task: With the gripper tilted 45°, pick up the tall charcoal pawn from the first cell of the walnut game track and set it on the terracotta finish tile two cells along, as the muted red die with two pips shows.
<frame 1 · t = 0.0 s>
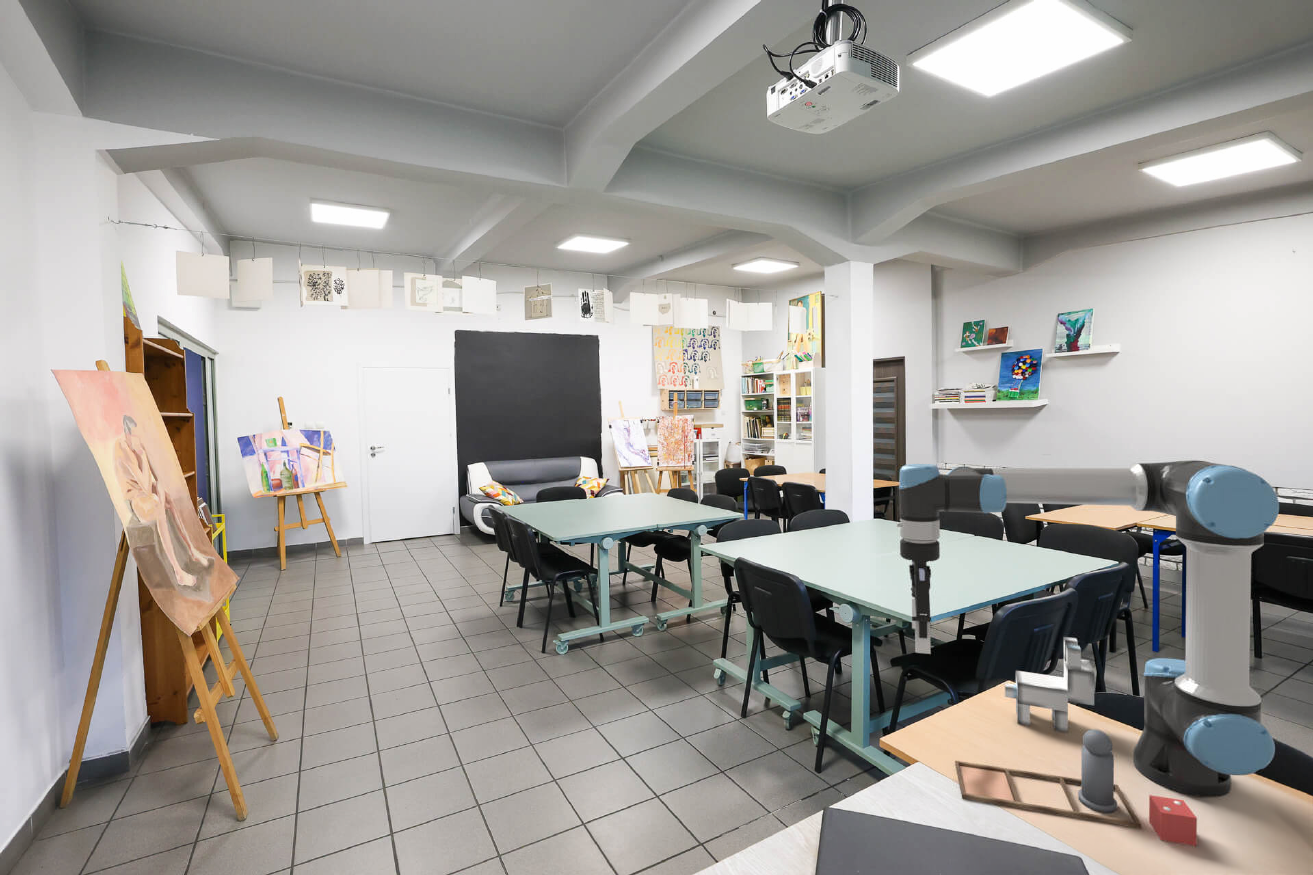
hand: (920, 640, 129), 28 cm above the table, tool pointing down, fingers open, 13 cm apart
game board: (1040, 793, 121), on the table
red die: (1172, 833, 109), on the table
pawn: (1097, 802, 118), resting in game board
toy llama: (1047, 722, 147), on the table
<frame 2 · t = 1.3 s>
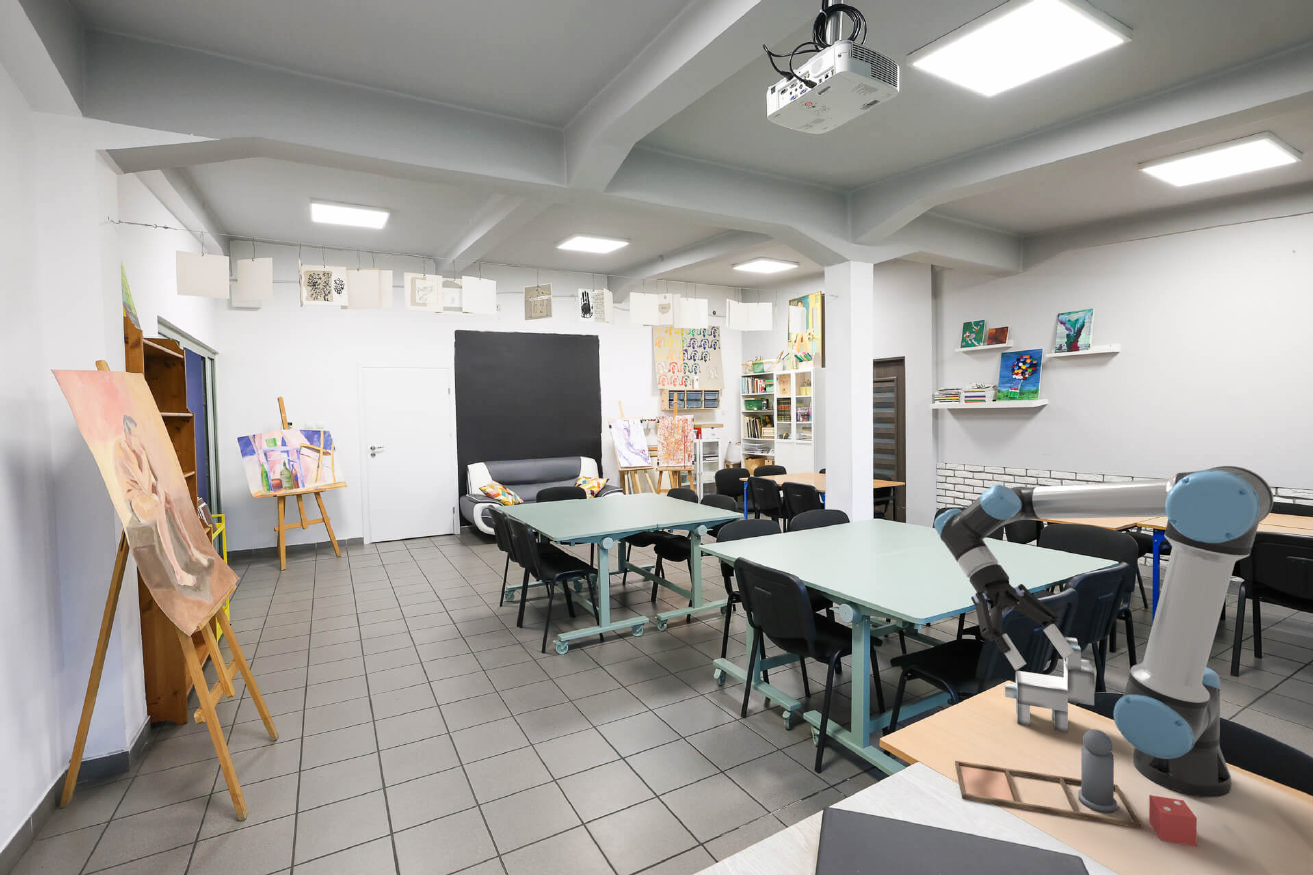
hand: (1045, 661, 127), 24 cm above the table, tool tilted 45°, fingers open, 13 cm apart
nothing on the table moved.
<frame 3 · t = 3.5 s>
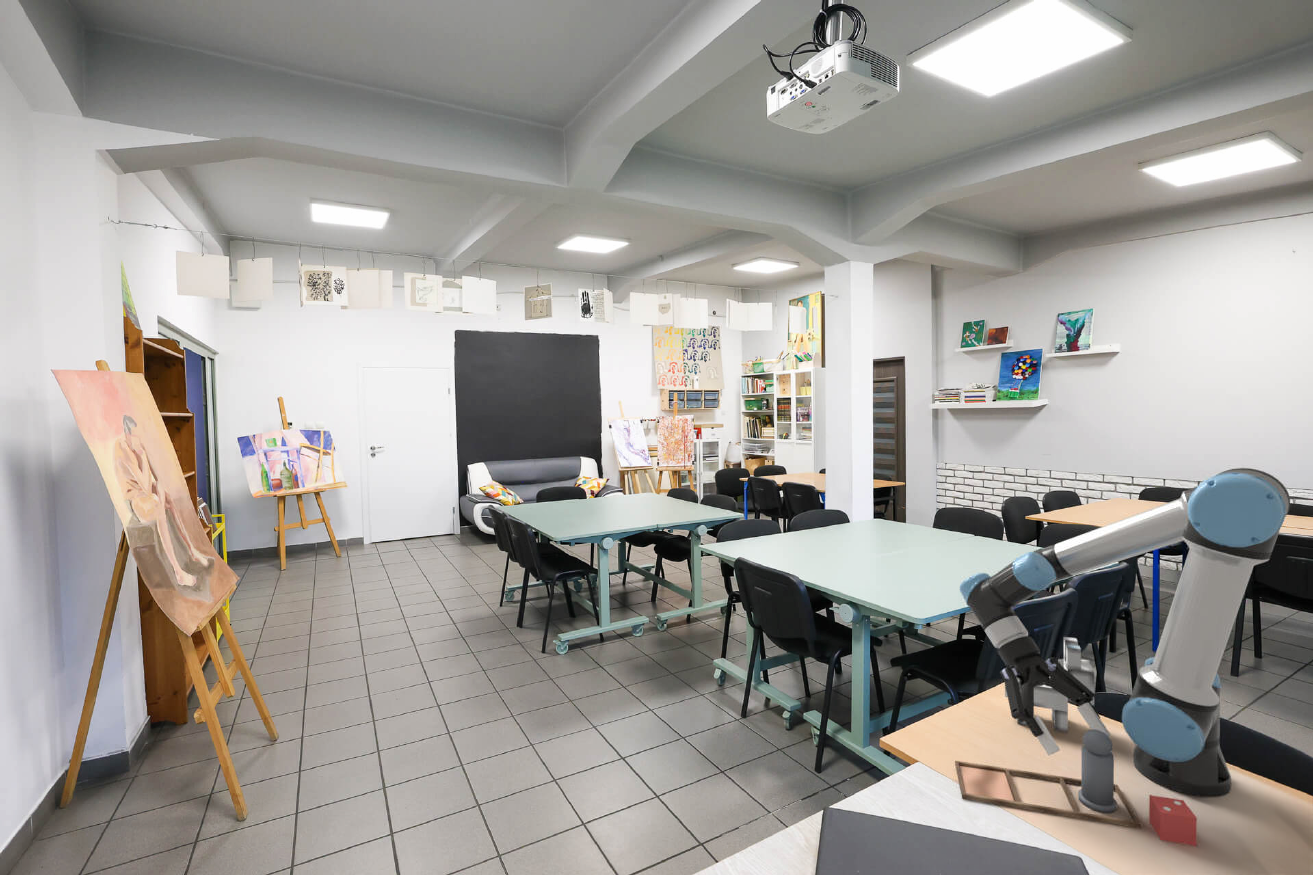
hand: (1080, 745, 120), 10 cm above the table, tool tilted 45°, fingers open, 13 cm apart
nothing on the table moved.
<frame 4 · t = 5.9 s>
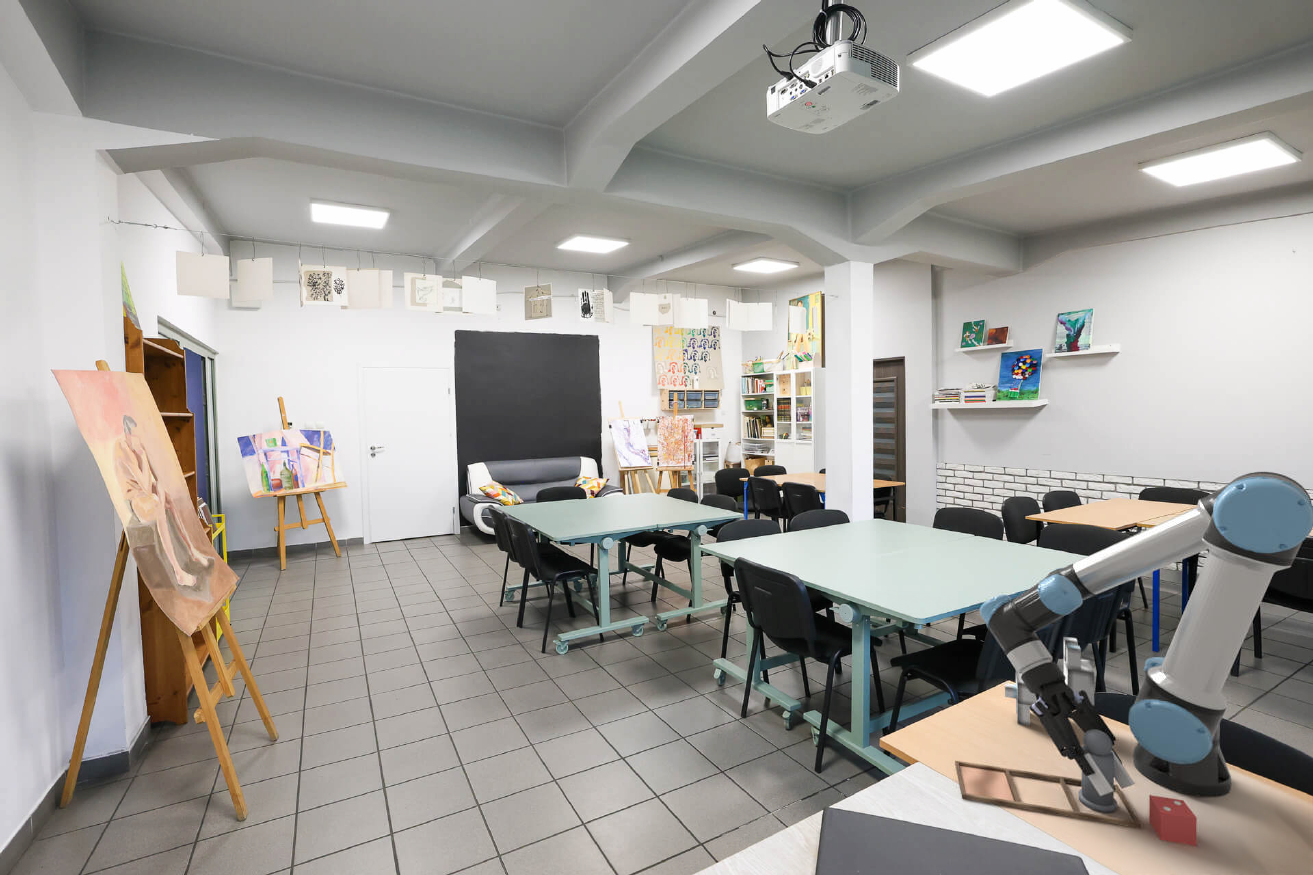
hand: (1117, 789, 114), 5 cm above the table, tool tilted 45°, fingers closed on pawn, 5 cm apart
pawn: (1097, 802, 118), resting in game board, touching gripper
everything else where it was.
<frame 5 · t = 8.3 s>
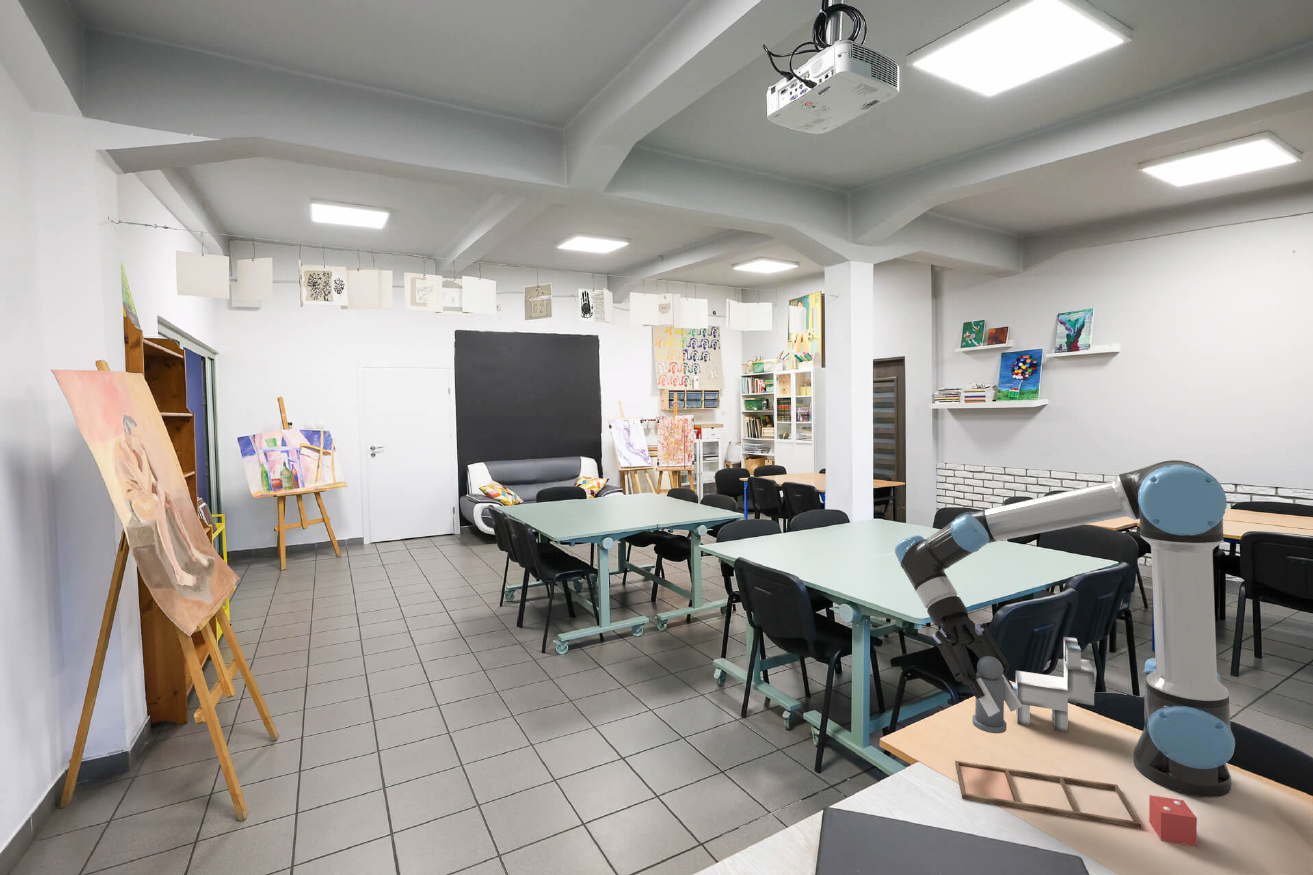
hand: (1005, 711, 120), 17 cm above the table, tool tilted 45°, fingers closed on pawn, 5 cm apart
pawn: (989, 725, 124), point 12 cm above the table, touching gripper
everything else where it was.
when the fingers open (6 cm above the table, at t = 11.0 s): pawn drops 1 cm, resting on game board.
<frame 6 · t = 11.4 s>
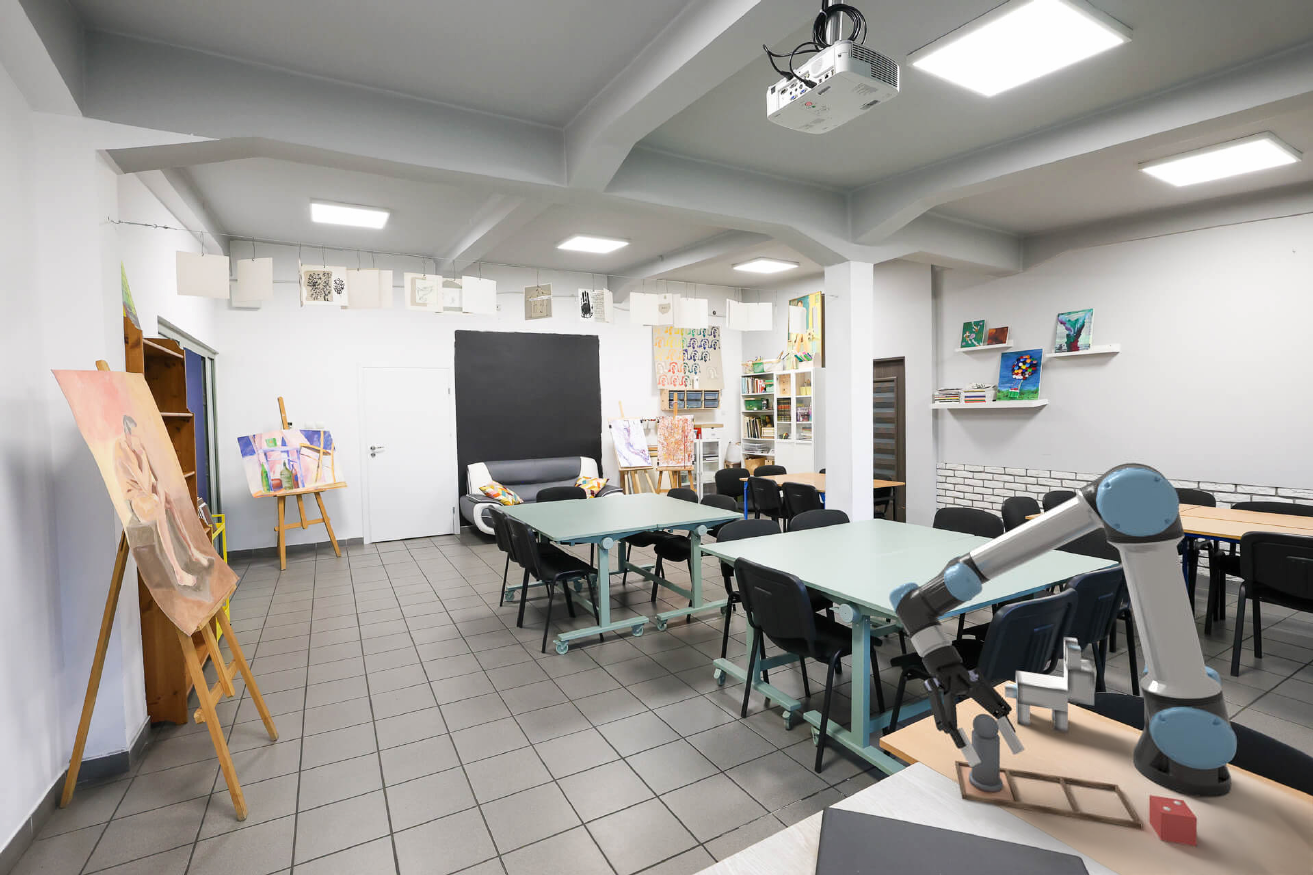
hand: (997, 758, 121), 7 cm above the table, tool tilted 45°, fingers open, 10 cm apart
pawn: (985, 783, 124), resting on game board
everything else where it was.
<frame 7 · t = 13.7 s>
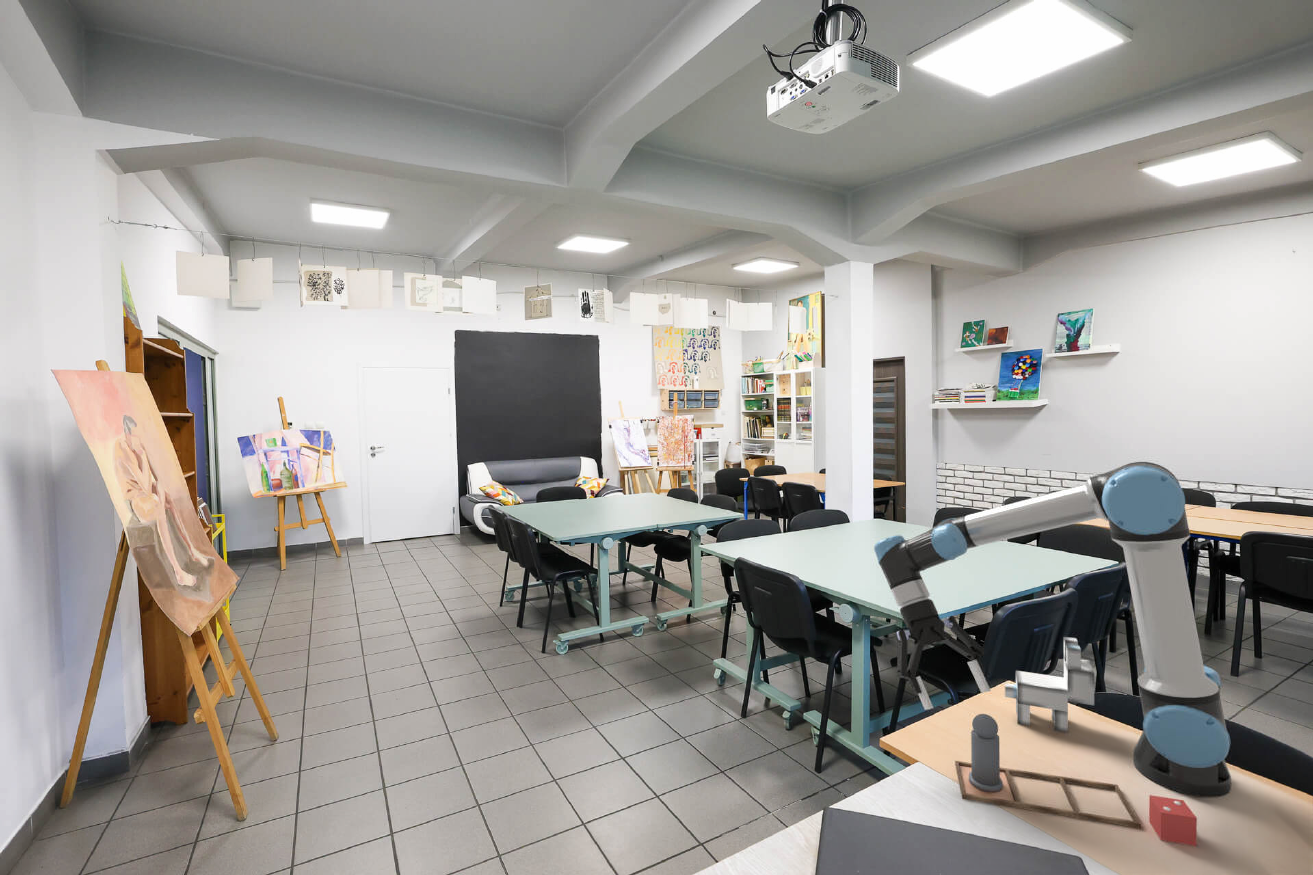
hand: (957, 700, 132), 13 cm above the table, tool tilted 30°, fingers open, 13 cm apart
nothing on the table moved.
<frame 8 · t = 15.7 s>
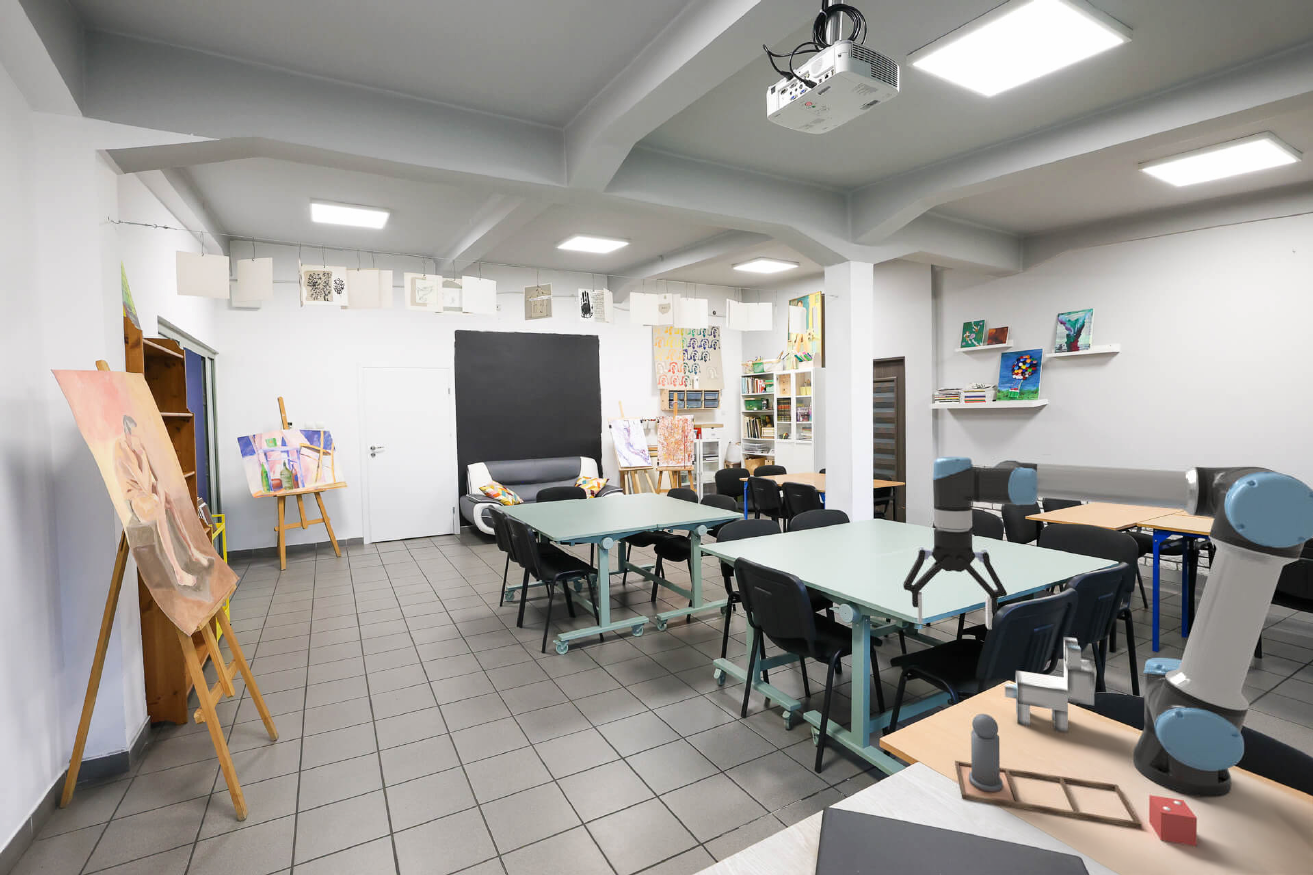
hand: (953, 624, 135), 29 cm above the table, tool pointing down, fingers open, 13 cm apart
nothing on the table moved.
at the end: pawn inside the target area on the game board (0.1 cm from its centre), point 0.3 cm above the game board's base; pawn tilted 0°; the gripper is holding nothing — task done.
